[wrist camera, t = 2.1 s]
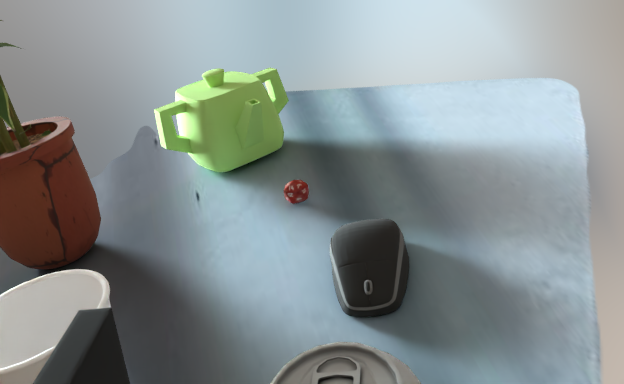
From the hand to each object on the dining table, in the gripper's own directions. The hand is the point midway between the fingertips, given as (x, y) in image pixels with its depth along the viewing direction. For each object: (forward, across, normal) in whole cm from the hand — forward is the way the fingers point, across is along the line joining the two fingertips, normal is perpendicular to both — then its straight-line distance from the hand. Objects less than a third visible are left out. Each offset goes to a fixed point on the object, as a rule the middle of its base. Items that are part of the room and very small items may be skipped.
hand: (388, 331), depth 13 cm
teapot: (+66, -11, -17) cm, 69 cm away
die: (+49, -3, -17) cm, 52 cm away
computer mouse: (+32, +3, -18) cm, 37 cm away
